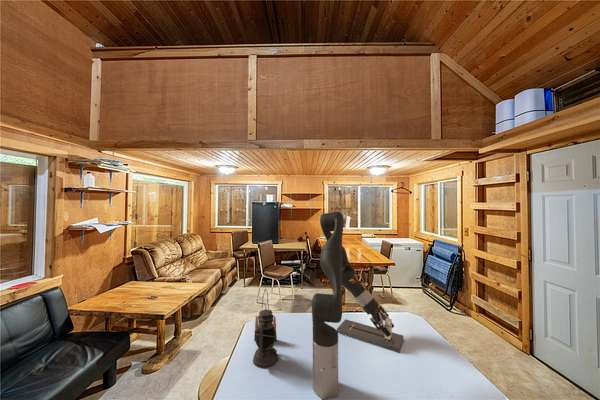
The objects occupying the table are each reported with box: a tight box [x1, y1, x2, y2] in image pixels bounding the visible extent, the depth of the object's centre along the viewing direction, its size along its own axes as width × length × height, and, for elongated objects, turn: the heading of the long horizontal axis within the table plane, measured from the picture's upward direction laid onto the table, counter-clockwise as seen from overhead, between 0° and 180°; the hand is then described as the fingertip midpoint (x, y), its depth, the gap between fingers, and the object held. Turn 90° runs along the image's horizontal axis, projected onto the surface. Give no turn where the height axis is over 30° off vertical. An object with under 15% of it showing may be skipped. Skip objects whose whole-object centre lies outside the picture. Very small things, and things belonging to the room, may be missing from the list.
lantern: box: [252, 288, 279, 369], centre depth 99 cm, size 12×11×30 cm
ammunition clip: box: [254, 315, 278, 343], centre depth 112 cm, size 11×2×12 cm, turn 87°
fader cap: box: [384, 317, 393, 340], centre depth 111 cm, size 2×4×8 cm, turn 148°
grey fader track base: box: [336, 318, 405, 354], centre depth 116 cm, size 30×12×2 cm, turn 58°
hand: (391, 331), depth 110 cm, fingers open, 8 cm apart
